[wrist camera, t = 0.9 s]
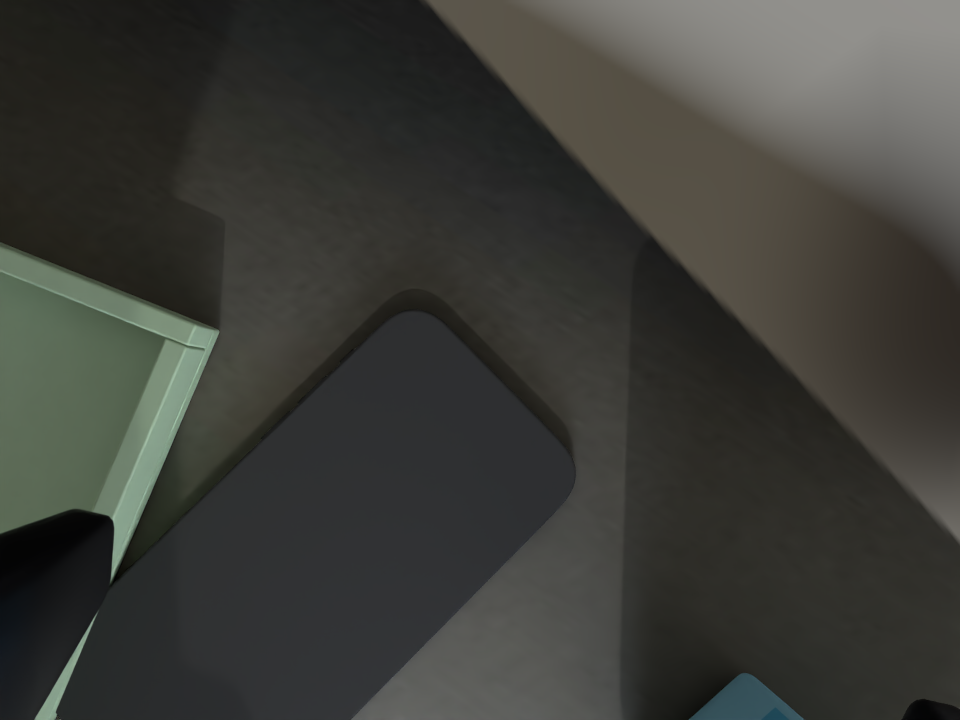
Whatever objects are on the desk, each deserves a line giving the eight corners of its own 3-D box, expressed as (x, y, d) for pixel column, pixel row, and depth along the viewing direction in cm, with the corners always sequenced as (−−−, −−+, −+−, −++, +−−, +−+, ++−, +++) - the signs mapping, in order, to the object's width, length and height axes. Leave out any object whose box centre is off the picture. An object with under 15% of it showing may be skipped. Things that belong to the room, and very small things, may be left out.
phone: (14, 675, 21) (413, 289, 22) (30, 663, 22) (413, 292, 23) (210, 865, 21) (594, 475, 22) (218, 846, 22) (588, 471, 23)
